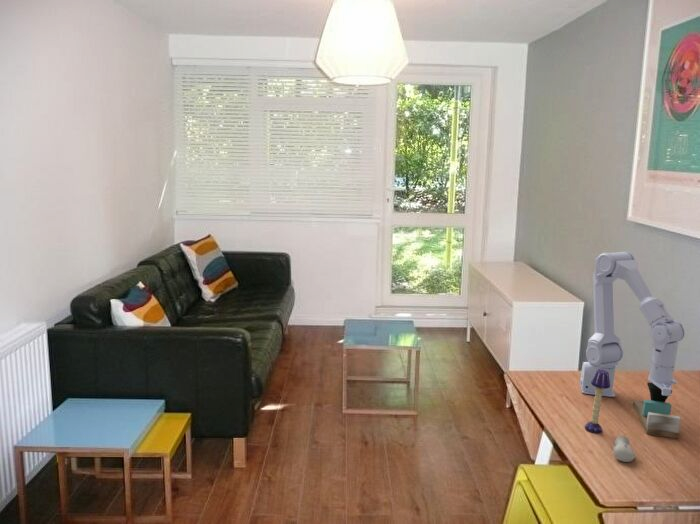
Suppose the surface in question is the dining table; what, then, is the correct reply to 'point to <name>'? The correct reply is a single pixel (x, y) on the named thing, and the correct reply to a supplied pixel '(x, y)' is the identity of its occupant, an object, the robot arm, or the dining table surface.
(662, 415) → the clamp board
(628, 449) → the pale two-lobed sculpture
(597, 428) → the toy lamp
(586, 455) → the dining table surface
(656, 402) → the sliding jaw
